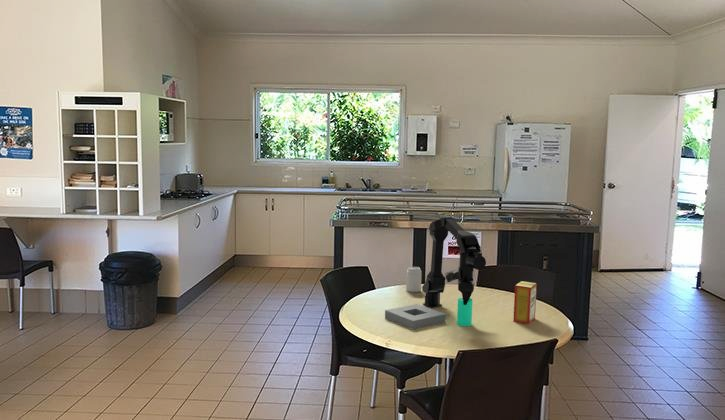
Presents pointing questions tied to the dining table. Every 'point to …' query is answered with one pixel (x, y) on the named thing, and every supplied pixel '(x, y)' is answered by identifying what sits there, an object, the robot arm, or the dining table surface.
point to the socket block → (415, 316)
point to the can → (413, 279)
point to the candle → (464, 313)
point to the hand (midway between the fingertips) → (464, 301)
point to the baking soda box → (525, 302)
